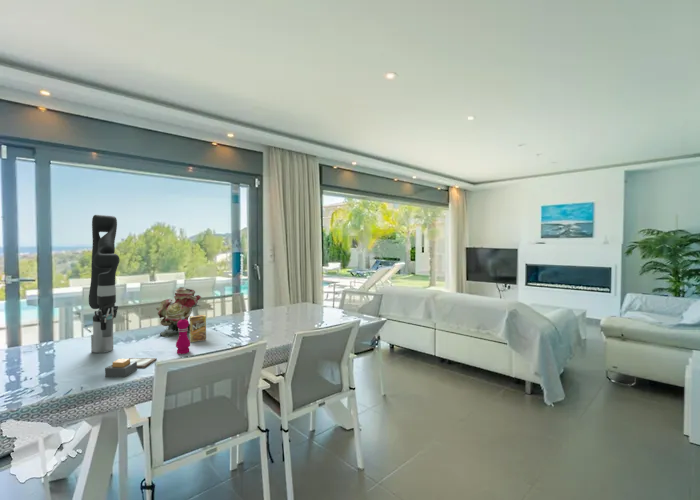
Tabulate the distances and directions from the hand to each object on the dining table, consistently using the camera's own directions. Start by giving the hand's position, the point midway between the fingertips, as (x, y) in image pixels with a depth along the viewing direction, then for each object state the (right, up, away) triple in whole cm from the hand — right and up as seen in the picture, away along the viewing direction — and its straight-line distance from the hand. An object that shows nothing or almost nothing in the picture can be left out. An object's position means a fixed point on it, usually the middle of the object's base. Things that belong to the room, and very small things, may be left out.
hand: (106, 328), depth 173 cm
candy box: (+26, -17, +43) cm, 53 cm away
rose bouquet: (+5, -16, +63) cm, 65 cm away
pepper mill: (+28, -18, +21) cm, 39 cm away
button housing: (+13, -19, -9) cm, 25 cm away
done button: (+13, -17, -9) cm, 23 cm away
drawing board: (+13, -18, +3) cm, 23 cm away
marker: (0, -4, 0) cm, 4 cm away
